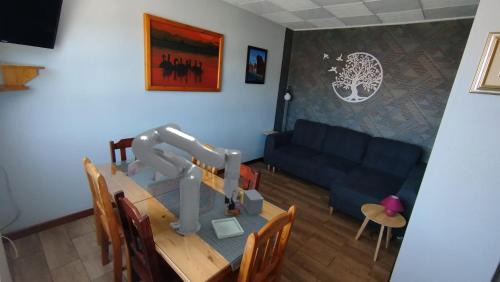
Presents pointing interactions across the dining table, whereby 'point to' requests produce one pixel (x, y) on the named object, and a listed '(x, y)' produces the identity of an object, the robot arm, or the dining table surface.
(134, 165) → the casing
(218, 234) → the tray
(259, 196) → the block
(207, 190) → the dining table surface
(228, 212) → the candy box
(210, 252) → the dining table surface
